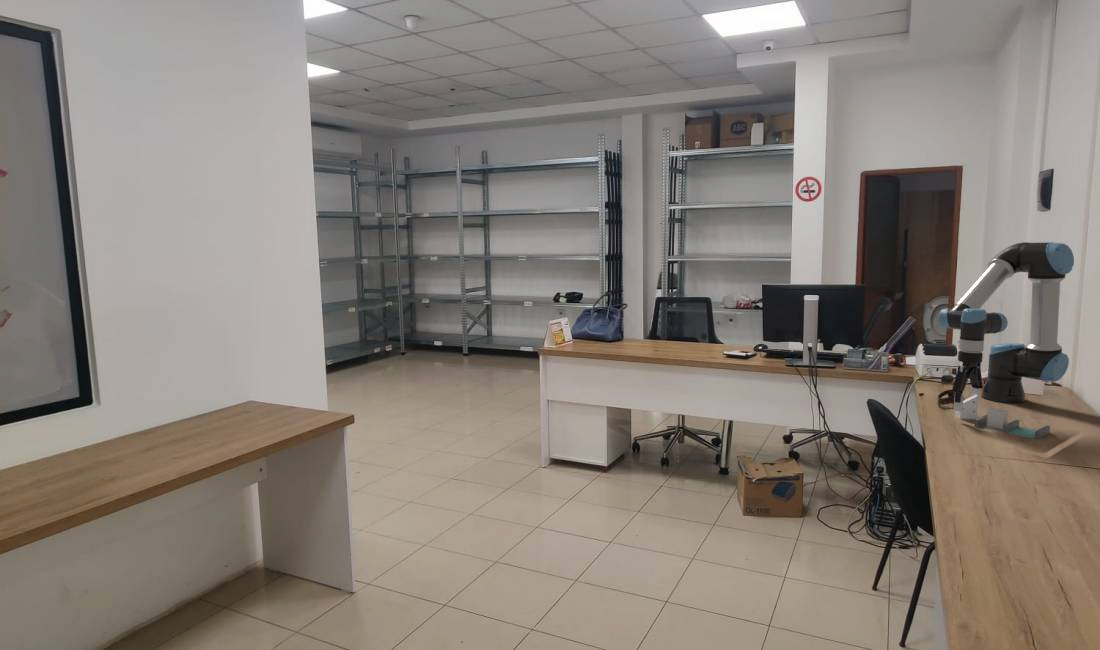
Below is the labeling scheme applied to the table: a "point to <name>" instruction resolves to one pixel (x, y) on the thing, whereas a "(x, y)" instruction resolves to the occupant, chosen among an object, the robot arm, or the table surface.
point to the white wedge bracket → (968, 408)
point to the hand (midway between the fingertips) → (965, 408)
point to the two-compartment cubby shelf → (1014, 428)
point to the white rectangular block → (997, 418)
